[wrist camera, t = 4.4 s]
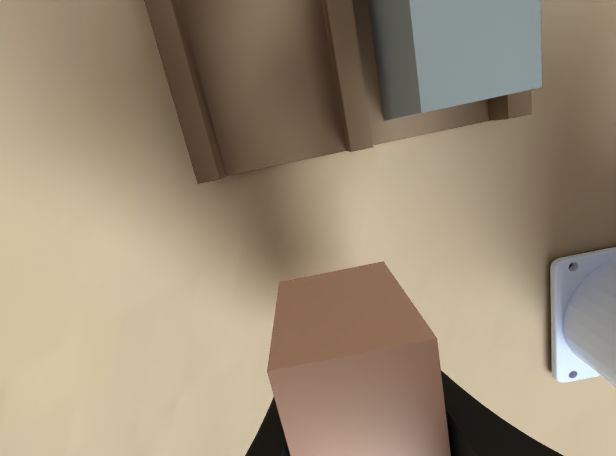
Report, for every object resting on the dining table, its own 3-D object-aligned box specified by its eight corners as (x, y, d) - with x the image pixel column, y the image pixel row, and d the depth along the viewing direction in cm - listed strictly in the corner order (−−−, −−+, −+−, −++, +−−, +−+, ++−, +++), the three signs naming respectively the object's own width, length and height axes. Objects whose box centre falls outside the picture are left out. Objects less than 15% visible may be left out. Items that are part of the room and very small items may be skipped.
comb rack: (492, -131, 14) (523, -174, 12) (504, 116, 16) (531, 113, 14) (145, -51, 14) (121, -81, 12) (209, 178, 17) (197, 183, 15)
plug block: (383, 261, 12) (436, 338, 8) (409, 429, 15) (464, 574, 10) (279, 282, 13) (267, 371, 8) (319, 446, 15) (330, 598, 10)
